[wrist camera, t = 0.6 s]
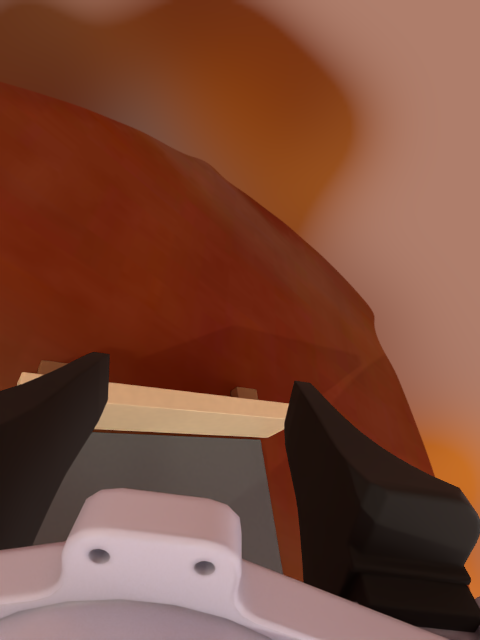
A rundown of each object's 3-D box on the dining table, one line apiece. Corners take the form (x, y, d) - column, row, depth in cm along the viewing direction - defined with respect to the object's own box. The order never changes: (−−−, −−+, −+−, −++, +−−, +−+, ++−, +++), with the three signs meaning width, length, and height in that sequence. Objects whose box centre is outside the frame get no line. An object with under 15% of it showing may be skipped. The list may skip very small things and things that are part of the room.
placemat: (309, 735, 24) (310, 735, 24) (-77, 947, 14) (-77, 949, 13) (259, 440, 35) (260, 439, 35) (21, 429, 24) (22, 429, 24)
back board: (267, 438, 35) (301, 420, 32) (5, 424, 24) (17, 395, 21) (259, 395, 38) (290, 374, 35) (18, 364, 26) (30, 329, 23)
